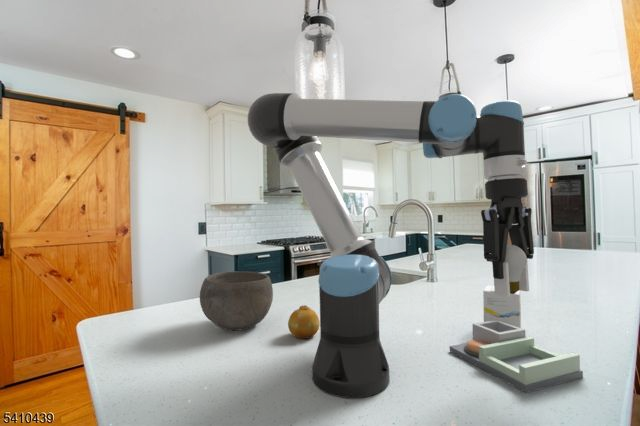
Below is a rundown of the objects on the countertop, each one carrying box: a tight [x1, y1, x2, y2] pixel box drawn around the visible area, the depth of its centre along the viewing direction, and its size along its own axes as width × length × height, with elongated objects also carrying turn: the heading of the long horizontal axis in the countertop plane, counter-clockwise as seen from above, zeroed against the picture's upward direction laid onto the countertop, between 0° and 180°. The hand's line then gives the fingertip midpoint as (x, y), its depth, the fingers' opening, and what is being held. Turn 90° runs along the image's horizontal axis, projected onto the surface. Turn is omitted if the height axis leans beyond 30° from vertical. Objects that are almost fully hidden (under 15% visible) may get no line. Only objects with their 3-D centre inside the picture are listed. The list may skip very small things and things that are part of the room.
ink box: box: [483, 285, 522, 328], centre depth 87 cm, size 9×8×12 cm
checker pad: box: [466, 339, 491, 354], centre depth 72 cm, size 5×5×1 cm
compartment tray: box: [449, 320, 584, 393], centre depth 69 cm, size 15×19×6 cm
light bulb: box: [505, 244, 528, 294], centre depth 66 cm, size 6×6×10 cm
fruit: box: [287, 304, 320, 339], centre depth 87 cm, size 8×8×8 cm
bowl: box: [199, 270, 274, 331], centre depth 96 cm, size 21×21×15 cm
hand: (512, 292), depth 66 cm, fingers closed on light bulb, 6 cm apart
